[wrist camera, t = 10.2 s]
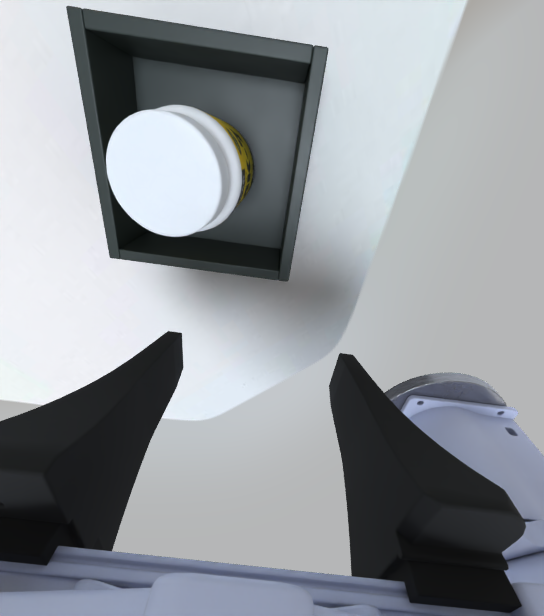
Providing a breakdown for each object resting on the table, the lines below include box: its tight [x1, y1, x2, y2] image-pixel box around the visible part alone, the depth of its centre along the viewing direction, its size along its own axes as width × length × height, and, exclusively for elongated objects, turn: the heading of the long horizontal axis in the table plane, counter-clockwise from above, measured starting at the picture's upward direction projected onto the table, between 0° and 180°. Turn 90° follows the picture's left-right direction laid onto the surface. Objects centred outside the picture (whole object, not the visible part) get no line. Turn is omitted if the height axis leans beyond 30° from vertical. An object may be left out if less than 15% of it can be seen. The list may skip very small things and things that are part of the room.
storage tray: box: [66, 6, 328, 281], centre depth 15 cm, size 10×10×5 cm
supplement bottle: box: [106, 105, 254, 237], centre depth 13 cm, size 5×5×8 cm
